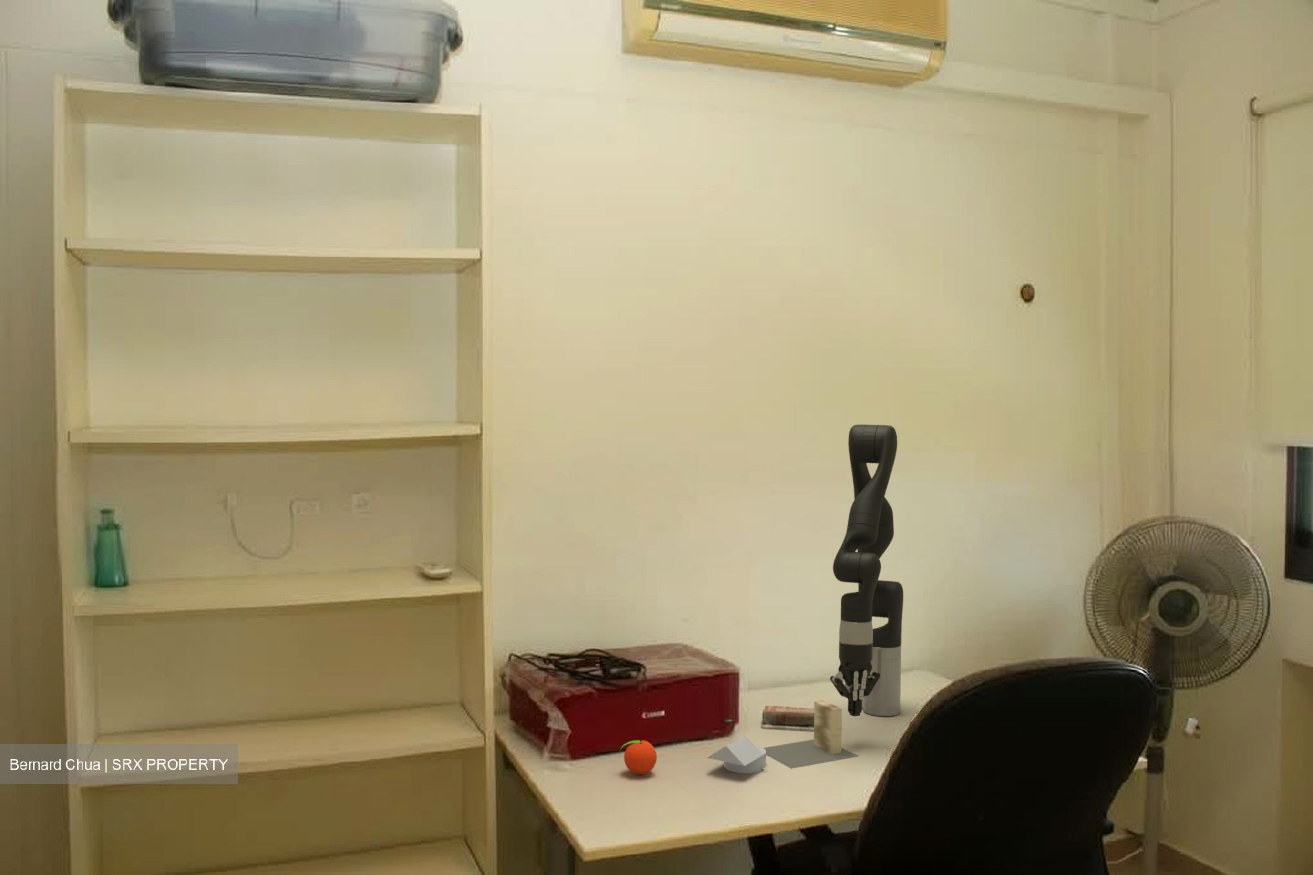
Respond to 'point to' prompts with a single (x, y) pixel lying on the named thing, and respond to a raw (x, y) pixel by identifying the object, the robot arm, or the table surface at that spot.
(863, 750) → the table surface
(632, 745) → the clementine
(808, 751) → the mat
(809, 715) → the packaged product
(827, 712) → the birch tile
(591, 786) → the table surface
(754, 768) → the wedge on round base
